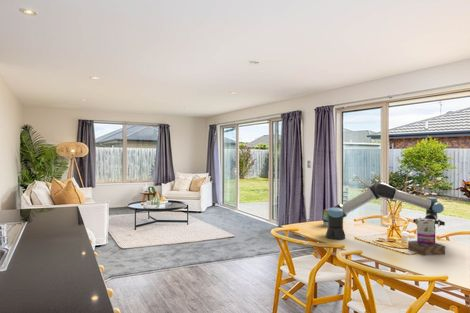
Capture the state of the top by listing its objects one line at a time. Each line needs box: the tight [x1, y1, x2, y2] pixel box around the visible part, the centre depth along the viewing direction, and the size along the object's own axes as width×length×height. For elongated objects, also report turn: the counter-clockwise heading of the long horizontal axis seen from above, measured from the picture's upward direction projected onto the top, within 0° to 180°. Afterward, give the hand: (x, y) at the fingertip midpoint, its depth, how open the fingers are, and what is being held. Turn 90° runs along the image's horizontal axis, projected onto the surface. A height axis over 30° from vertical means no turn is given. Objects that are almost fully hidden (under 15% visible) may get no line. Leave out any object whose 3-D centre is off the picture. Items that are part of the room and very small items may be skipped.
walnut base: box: [407, 240, 446, 256], centre depth 241 cm, size 16×16×6 cm
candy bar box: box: [416, 218, 436, 244], centre depth 241 cm, size 11×5×16 cm, turn 62°
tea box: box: [322, 208, 329, 227], centre depth 331 cm, size 15×10×15 cm
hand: (427, 224), depth 249 cm, fingers open, 13 cm apart
